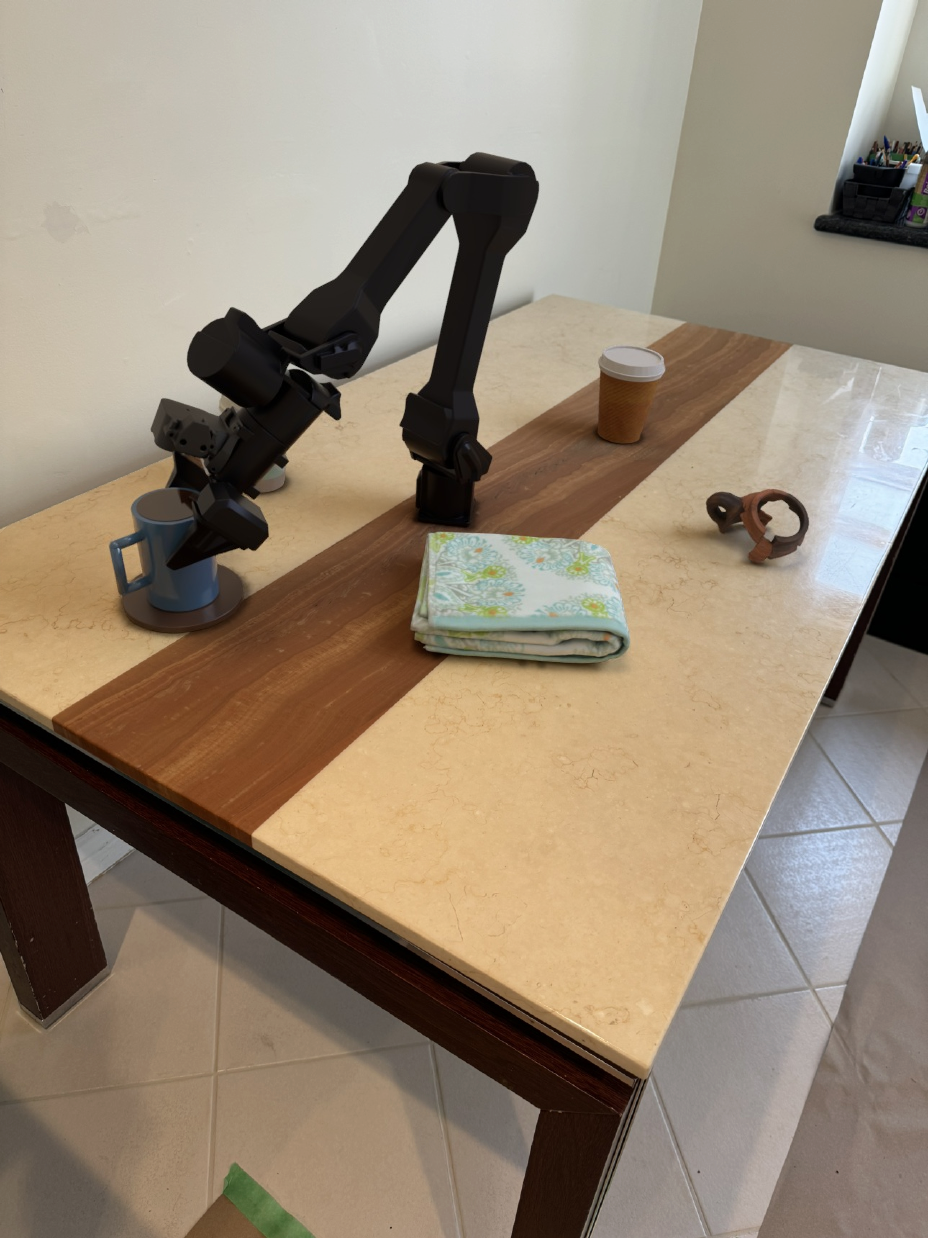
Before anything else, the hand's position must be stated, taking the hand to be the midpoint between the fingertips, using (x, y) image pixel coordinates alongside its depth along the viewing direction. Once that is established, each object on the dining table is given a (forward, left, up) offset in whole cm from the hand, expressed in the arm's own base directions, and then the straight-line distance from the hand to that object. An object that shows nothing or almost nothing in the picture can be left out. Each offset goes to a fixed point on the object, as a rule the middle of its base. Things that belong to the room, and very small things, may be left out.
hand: (162, 543), depth 85 cm
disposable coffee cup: (-47, -54, -7) cm, 72 cm away
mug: (0, +1, -6) cm, 6 cm away
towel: (-35, -6, -7) cm, 36 cm away
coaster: (-1, -1, -7) cm, 7 cm away
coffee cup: (-1, -27, -7) cm, 28 cm away
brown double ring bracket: (-62, -26, -7) cm, 68 cm away
